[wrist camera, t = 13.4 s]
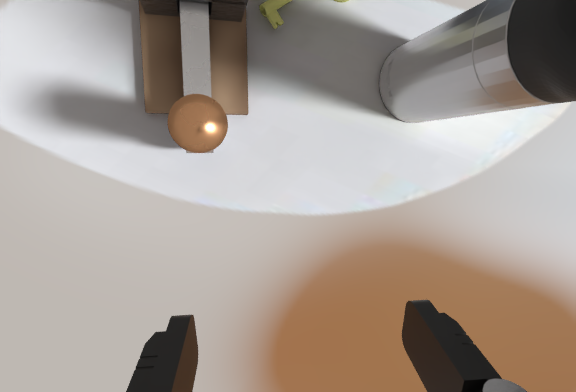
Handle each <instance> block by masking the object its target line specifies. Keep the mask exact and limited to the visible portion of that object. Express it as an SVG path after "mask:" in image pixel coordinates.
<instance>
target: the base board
mask: <svg viewBox="0 0 576 392" xmlns="http://www.w3.org/2000/svg"><path fill="white" fill-rule="evenodd" d="M139 13H140V29H141V46H142V63H143V80H144V96H145V112H146V113H169V112H170V109H171V108H172V106H173V105H174V103H175V102H176V101H177V100H179V99H180V98H182V97H184V89H183V67H182V44H181V22H180V17H176V16H164V15H152V14H145V12H144V10H143V7H142V5H141V2H140V0H139ZM209 41H210V69H211V98H213V99H214V100H215V101H217V102H218V103H219V104H220V105H221V107H222V108H223V110H224V112H225V114H227V115H247V114H248V80H247V34H246V8H245V11H244V15H243V18H242V21H241V22H235V21H223V20H211V19H209Z"/></svg>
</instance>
